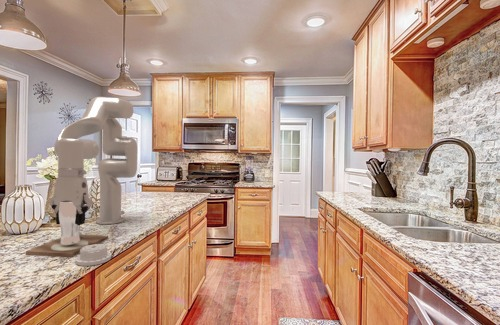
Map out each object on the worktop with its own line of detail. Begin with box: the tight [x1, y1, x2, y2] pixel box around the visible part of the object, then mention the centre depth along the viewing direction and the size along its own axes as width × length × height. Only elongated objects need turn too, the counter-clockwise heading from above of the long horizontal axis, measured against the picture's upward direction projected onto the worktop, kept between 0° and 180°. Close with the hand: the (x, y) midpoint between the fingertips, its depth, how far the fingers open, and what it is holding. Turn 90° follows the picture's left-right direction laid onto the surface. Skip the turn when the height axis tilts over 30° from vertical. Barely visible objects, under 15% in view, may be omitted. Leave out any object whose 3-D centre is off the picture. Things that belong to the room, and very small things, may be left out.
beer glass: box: [59, 201, 82, 245], centre depth 95 cm, size 7×7×15 cm
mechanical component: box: [75, 243, 112, 267], centre depth 86 cm, size 10×4×10 cm
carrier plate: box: [25, 232, 109, 258], centre depth 98 cm, size 20×16×2 cm
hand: (70, 223), depth 95 cm, fingers closed on beer glass, 6 cm apart
